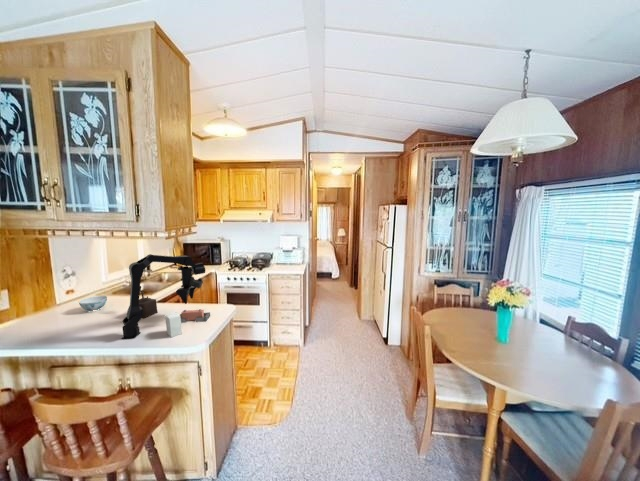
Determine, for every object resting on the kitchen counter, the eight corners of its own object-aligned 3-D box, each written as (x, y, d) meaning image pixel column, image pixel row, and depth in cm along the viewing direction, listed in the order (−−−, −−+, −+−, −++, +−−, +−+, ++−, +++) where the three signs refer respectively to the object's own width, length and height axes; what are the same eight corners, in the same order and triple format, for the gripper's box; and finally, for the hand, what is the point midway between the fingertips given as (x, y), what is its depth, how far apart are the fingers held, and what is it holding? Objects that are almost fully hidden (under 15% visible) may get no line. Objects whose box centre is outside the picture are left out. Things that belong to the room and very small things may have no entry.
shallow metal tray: (175, 323, 162) (174, 319, 162) (180, 317, 170) (180, 314, 169) (206, 321, 164) (206, 317, 163) (210, 316, 171) (210, 312, 171)
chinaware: (101, 305, 196) (100, 294, 195) (112, 308, 190) (111, 297, 189) (75, 312, 183) (74, 301, 182) (87, 315, 176) (85, 304, 175)
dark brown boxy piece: (158, 312, 180) (156, 286, 178) (143, 318, 169) (140, 291, 167) (141, 310, 185) (138, 284, 182) (125, 316, 174) (122, 289, 172)
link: (182, 320, 164) (181, 311, 164) (184, 318, 168) (183, 309, 167) (202, 319, 165) (201, 310, 165) (204, 317, 169) (203, 308, 168)
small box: (182, 334, 148) (180, 315, 146) (171, 337, 144) (169, 318, 143) (177, 329, 153) (176, 311, 152) (166, 332, 150) (165, 314, 148)
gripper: (195, 279, 155) (196, 305, 157) (205, 272, 174) (207, 295, 176) (174, 280, 155) (177, 306, 156) (187, 272, 173) (189, 296, 175)
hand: (188, 301), depth 166 cm, fingers open, 9 cm apart
